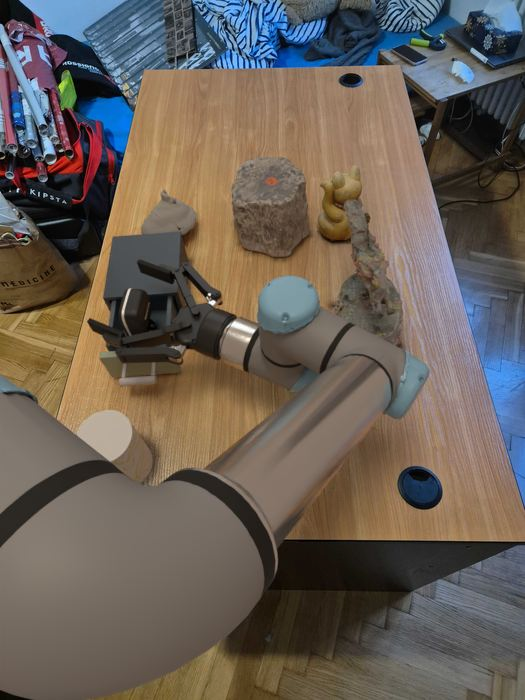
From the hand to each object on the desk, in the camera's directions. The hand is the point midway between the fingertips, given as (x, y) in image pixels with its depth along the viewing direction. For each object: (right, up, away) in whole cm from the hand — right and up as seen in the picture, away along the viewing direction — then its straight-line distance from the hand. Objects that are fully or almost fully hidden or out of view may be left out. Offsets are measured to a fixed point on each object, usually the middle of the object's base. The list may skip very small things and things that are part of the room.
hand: (116, 294), depth 77 cm
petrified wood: (+26, +18, +27) cm, 42 cm away
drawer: (+3, -9, +10) cm, 14 cm away
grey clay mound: (+4, +17, +28) cm, 33 cm away
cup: (+2, -28, -1) cm, 28 cm away
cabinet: (+2, +3, +19) cm, 19 cm away
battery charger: (+3, -7, +10) cm, 13 cm away
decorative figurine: (+41, +16, +25) cm, 51 cm away
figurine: (+44, -4, +13) cm, 45 cm away
